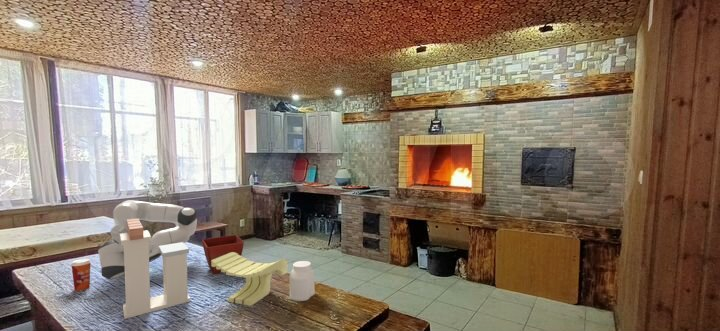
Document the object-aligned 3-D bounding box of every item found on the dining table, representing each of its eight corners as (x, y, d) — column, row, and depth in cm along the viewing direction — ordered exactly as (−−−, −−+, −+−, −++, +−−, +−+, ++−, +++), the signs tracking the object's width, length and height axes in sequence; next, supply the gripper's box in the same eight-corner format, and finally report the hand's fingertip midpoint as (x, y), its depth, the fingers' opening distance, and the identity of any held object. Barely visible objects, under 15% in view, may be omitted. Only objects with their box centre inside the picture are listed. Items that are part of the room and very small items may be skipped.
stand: (122, 306, 139) (120, 233, 137) (184, 290, 154) (182, 225, 152) (124, 319, 128) (121, 240, 126) (190, 301, 143) (188, 231, 141)
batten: (127, 229, 145) (126, 219, 145) (138, 228, 148) (138, 218, 148) (130, 240, 127) (129, 229, 126) (143, 238, 129) (143, 227, 129)
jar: (304, 302, 141) (304, 269, 140) (286, 299, 144) (286, 266, 144) (317, 292, 151) (317, 261, 151) (300, 289, 155) (299, 258, 154)
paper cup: (80, 292, 153) (78, 263, 152) (67, 291, 154) (66, 262, 154) (96, 285, 160) (95, 258, 160) (84, 284, 162) (83, 257, 161)
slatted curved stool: (287, 293, 150) (287, 256, 149) (266, 309, 135) (266, 268, 134) (236, 284, 160) (235, 250, 160) (212, 298, 145) (211, 260, 145)
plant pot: (244, 270, 180) (244, 241, 179) (208, 278, 169) (207, 247, 168) (236, 261, 195) (236, 234, 195) (202, 268, 185) (201, 239, 184)
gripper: (146, 258, 162) (148, 251, 152) (108, 237, 157) (107, 228, 148) (155, 248, 166) (157, 240, 156) (118, 227, 162) (118, 217, 152)
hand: (133, 234), depth 152 cm, fingers open, 8 cm apart
